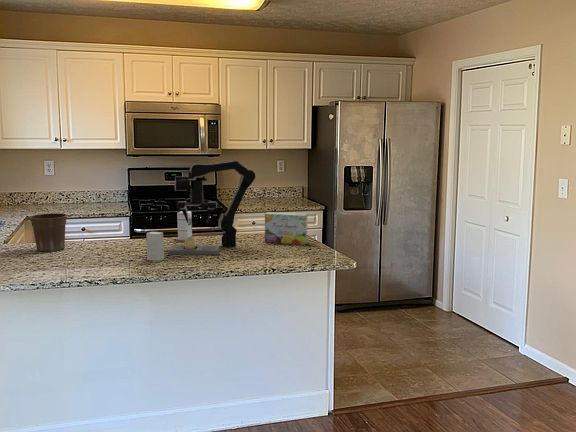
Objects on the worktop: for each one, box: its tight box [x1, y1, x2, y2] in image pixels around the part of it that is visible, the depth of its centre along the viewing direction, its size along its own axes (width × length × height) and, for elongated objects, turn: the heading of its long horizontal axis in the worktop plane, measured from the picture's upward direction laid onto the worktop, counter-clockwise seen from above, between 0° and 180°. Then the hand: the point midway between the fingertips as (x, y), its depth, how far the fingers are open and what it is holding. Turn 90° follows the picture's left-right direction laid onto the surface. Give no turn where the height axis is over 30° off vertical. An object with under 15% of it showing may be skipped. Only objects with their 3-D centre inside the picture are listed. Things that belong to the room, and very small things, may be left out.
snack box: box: [264, 211, 308, 246], centre depth 287 cm, size 21×6×15 cm, turn 77°
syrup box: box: [176, 210, 193, 241], centre depth 293 cm, size 6×6×14 cm
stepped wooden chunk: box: [184, 236, 197, 249], centre depth 263 cm, size 4×5×7 cm
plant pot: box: [29, 212, 68, 253], centre depth 265 cm, size 16×16×16 cm
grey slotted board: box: [168, 244, 221, 256], centre depth 264 cm, size 22×11×2 cm, turn 92°
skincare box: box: [146, 231, 165, 262], centre depth 247 cm, size 6×4×12 cm
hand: (197, 222), depth 273 cm, fingers open, 9 cm apart
